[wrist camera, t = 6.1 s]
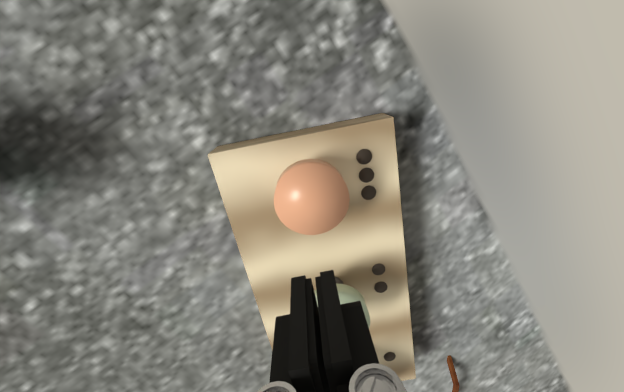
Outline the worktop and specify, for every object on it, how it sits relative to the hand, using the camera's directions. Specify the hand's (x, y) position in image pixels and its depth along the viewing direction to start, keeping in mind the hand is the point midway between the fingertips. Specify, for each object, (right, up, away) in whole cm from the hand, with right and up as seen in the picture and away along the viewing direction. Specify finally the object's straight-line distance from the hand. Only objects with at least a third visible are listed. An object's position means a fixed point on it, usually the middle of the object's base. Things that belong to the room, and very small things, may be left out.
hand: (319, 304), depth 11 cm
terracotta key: (0, +4, +10) cm, 11 cm away
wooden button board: (+1, -3, +18) cm, 18 cm away
